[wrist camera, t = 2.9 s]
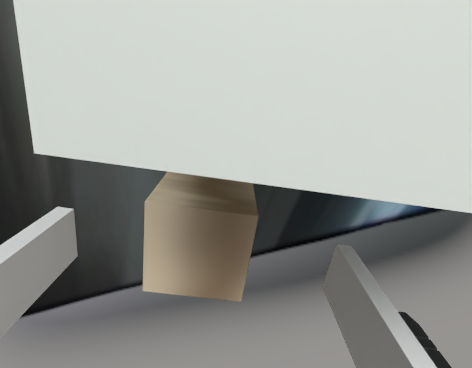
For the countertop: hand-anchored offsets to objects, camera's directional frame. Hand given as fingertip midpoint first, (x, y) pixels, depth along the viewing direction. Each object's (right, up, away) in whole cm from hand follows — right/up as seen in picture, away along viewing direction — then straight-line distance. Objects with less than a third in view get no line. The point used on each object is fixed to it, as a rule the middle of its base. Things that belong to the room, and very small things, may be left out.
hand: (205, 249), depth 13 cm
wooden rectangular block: (0, +9, +8) cm, 12 cm away
